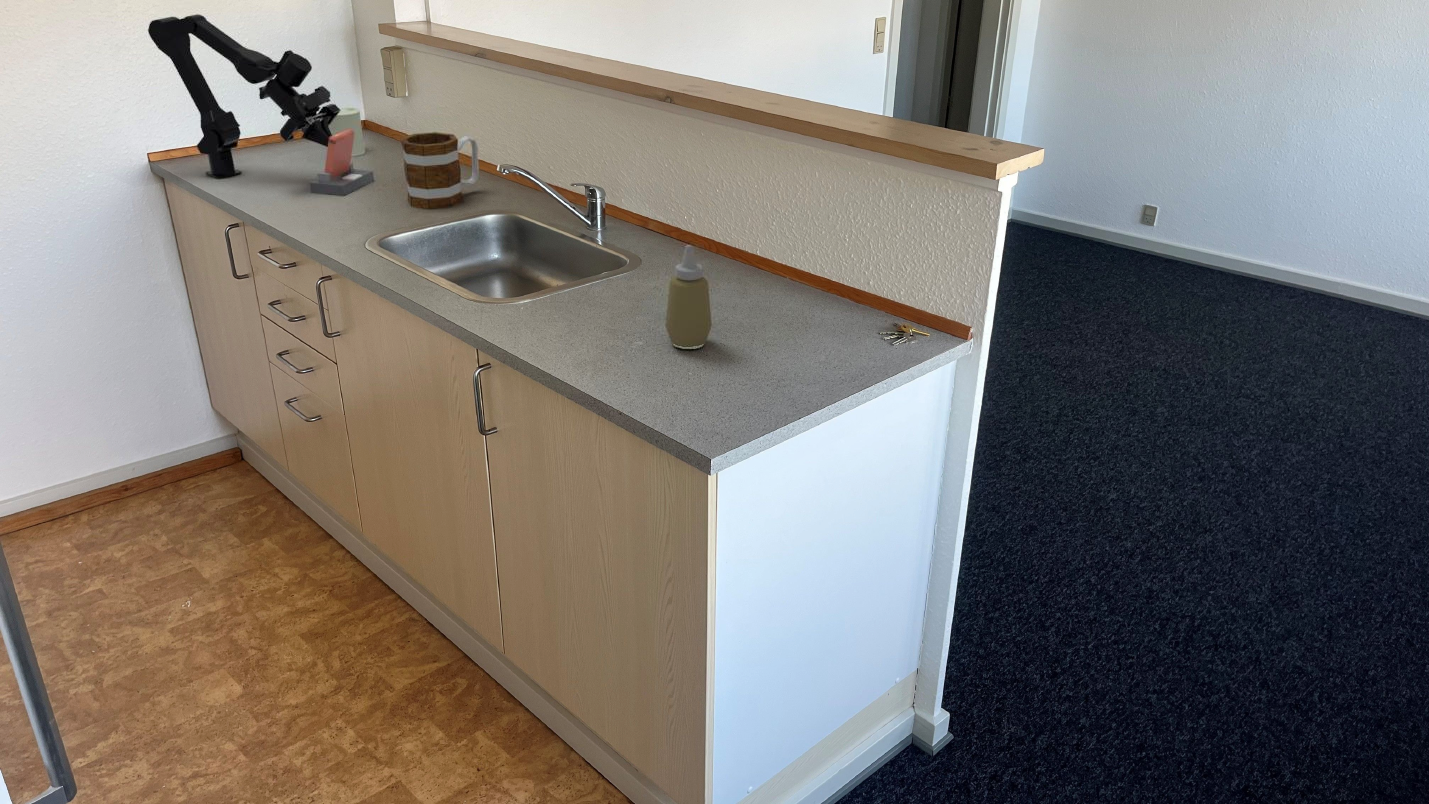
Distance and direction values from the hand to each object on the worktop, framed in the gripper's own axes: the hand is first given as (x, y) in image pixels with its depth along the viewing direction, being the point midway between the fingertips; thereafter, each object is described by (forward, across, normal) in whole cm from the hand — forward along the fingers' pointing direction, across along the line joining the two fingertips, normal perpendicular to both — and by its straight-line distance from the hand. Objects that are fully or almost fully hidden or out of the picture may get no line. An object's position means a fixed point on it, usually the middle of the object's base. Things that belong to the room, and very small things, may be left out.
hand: (336, 148), depth 261 cm
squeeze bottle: (+86, -66, -69) cm, 128 cm away
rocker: (+4, 0, +6) cm, 7 cm away
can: (-5, +29, +18) cm, 35 cm away
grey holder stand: (+7, 0, +7) cm, 10 cm away
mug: (+28, -1, -13) cm, 31 cm away
